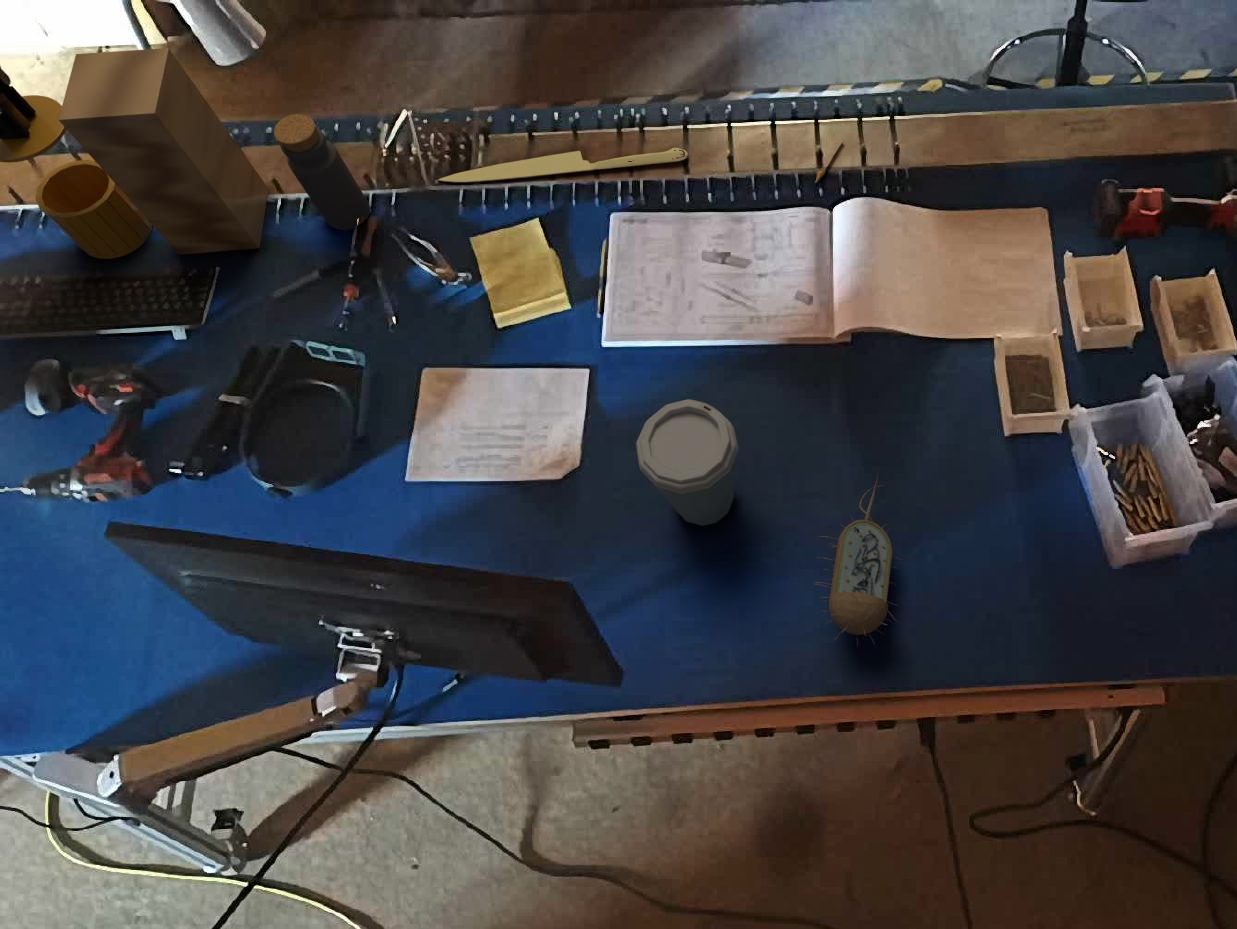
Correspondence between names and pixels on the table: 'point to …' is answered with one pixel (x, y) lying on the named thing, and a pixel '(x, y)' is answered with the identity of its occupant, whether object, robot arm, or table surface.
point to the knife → (559, 166)
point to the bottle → (321, 172)
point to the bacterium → (860, 576)
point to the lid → (33, 129)
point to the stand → (165, 149)
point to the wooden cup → (92, 210)
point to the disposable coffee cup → (690, 459)
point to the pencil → (819, 175)
